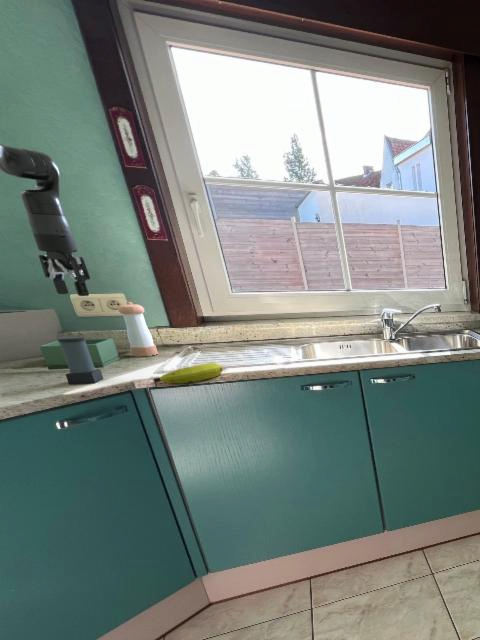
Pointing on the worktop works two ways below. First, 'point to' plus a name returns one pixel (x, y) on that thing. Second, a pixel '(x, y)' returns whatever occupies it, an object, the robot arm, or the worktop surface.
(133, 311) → the salt shaker
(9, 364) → the worktop surface
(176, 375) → the banana
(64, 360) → the tote
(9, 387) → the worktop surface
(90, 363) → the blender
